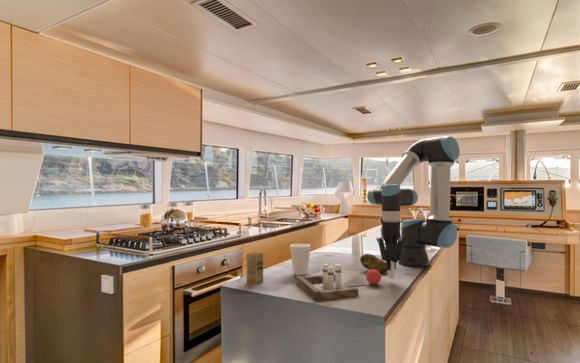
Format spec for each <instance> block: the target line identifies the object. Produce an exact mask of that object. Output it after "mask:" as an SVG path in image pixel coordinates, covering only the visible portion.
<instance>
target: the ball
mask: <svg viewBox="0 0 580 363" xmlns="http://www.w3.org/2000/svg"><path fill="white" fill-rule="evenodd" d="M365 277H366V281H367V282H368V283H369V284H370V285H373V286H374V285H377V284H379V283H380V282H381V279H382V273H379V272H378V271H377V270H374V269H372V270H369V269H368V271H367V272H366V275H365Z"/></svg>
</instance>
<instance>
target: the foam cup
mask: <svg viewBox="0 0 580 363" xmlns="http://www.w3.org/2000/svg"><path fill="white" fill-rule="evenodd" d="M289 251H290V257H291V258H290V259H291V264H292V272H293V274H294V275H296V276H305V275H307V274H308V270H309V262H310V256H311V255H310V254H311V244H308V243H292V244H290V245H289Z"/></svg>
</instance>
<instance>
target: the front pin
mask: <svg viewBox="0 0 580 363" xmlns="http://www.w3.org/2000/svg"><path fill="white" fill-rule="evenodd" d="M334 275H335V281H334V289H335V290H338V289H342V264H340V263H339V264H338V263H337V264H335V265H334Z"/></svg>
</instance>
